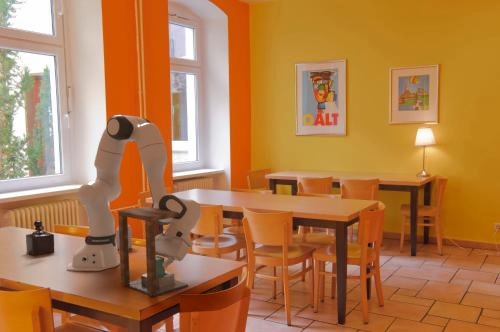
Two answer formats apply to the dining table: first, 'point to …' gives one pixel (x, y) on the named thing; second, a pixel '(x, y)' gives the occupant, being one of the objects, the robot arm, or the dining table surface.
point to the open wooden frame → (150, 217)
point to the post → (159, 267)
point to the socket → (158, 284)
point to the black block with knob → (39, 241)
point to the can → (128, 238)
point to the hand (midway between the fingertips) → (156, 265)
